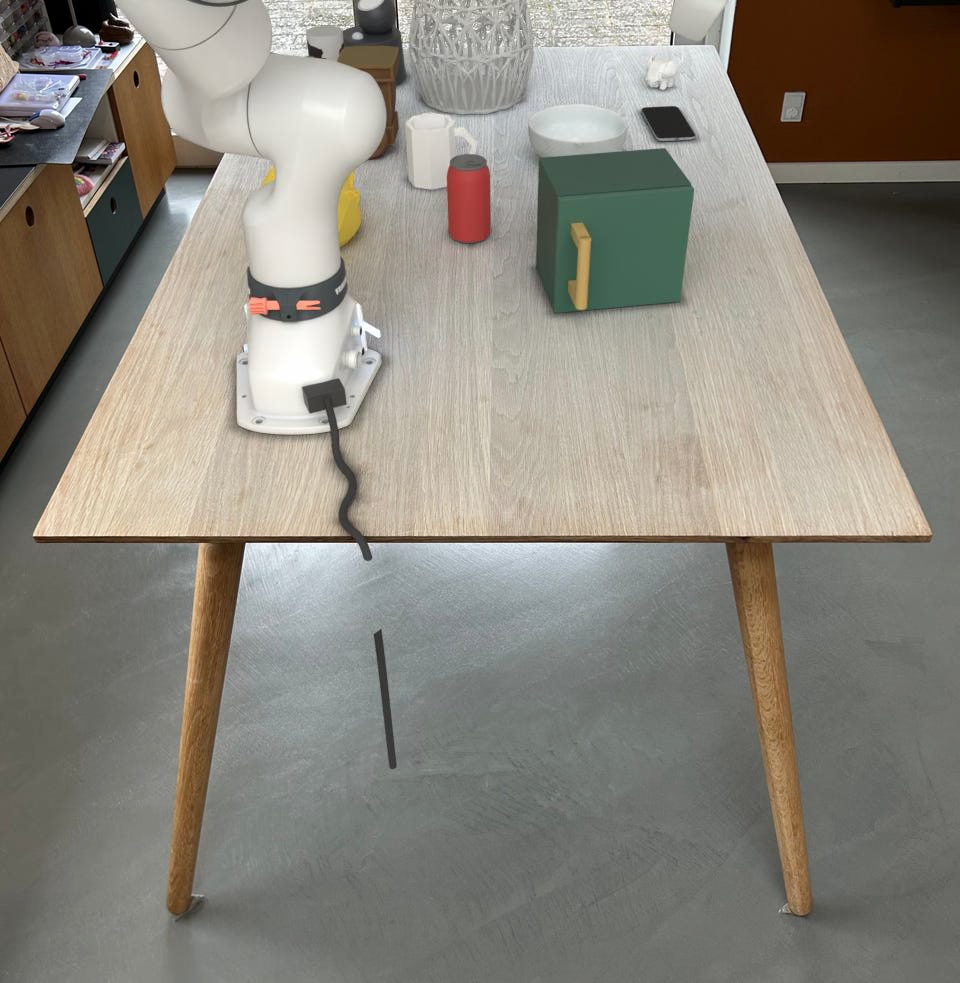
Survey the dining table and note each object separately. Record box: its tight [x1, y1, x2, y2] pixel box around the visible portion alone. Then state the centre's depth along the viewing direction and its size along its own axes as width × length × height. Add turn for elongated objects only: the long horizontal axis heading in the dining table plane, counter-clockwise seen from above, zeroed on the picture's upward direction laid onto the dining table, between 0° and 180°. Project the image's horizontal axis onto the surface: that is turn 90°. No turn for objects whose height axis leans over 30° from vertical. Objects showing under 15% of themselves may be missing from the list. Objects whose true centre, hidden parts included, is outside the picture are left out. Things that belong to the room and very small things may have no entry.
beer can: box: [446, 153, 492, 244], centre depth 159 cm, size 7×7×12 cm
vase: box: [408, 0, 535, 115], centre depth 199 cm, size 24×24×30 cm
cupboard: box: [535, 147, 692, 309], centre depth 146 cm, size 12×18×17 cm, turn 99°
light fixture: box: [343, 0, 407, 87], centre depth 211 cm, size 13×16×14 cm
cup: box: [305, 25, 344, 62], centre depth 198 cm, size 7×7×15 cm
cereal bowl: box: [527, 103, 628, 158], centre depth 182 cm, size 17×17×7 cm
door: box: [552, 185, 695, 314], centre depth 139 cm, size 6×18×17 cm, turn 99°
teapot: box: [260, 165, 363, 248], centre depth 159 cm, size 20×19×13 cm
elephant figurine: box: [645, 54, 679, 91], centre depth 209 cm, size 7×8×6 cm
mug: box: [404, 112, 479, 191], centre depth 176 cm, size 12×9×10 cm
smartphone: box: [640, 105, 696, 142], centre depth 195 cm, size 7×1×15 cm
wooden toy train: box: [304, 46, 400, 160], centre depth 184 cm, size 20×11×17 cm, turn 87°
